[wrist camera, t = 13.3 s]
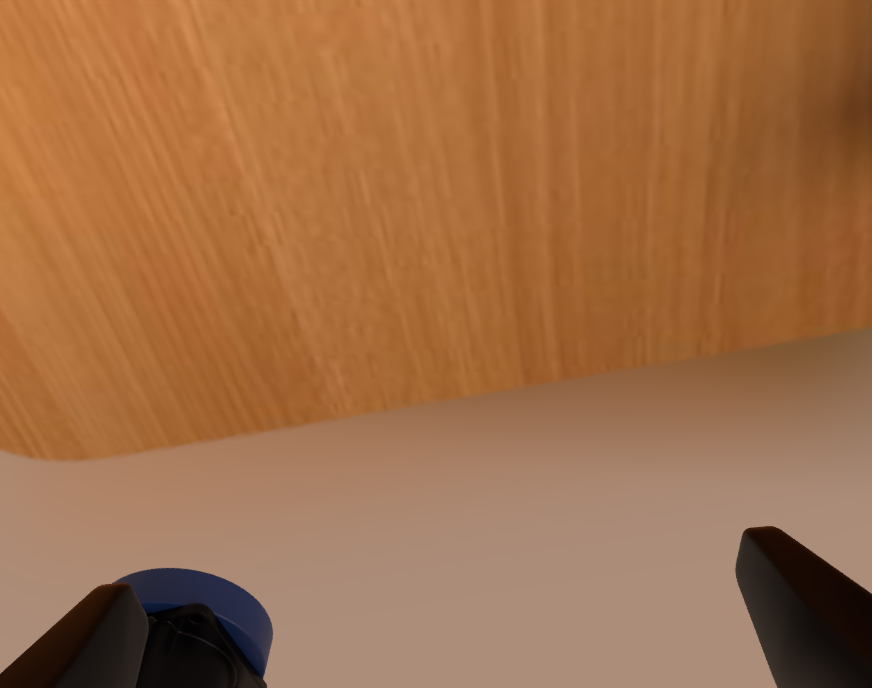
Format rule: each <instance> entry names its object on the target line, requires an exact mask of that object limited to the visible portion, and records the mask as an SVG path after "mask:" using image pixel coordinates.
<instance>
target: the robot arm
mask: <svg viewBox="0 0 872 688" xmlns="http://www.w3.org/2000/svg"><path fill="white" fill-rule="evenodd" d="M736 578H737V582H738V585H739V588H740V590H741V593H742V596H743V598H744V601H745V604H746V606H747V609H748V612H749V614H750V617H751V620H752V622H753V625H754V628H755V630H756V633H757V636H758V638H759V641H760V644H761V646H762V649H763V652H764V654H765V657H766V660H767V662H768V665H769V668H770V670H771V673H772V675H773V678H774V680H775V683H776V685H777V688H872V594H871V593H870V592H868V591H867V590H866V589H864V588H863V587H861V586H860V585H859V584H857V583H856V582H854V581H853V580H851V579H850V578H849V577H847V576H846V575H844V574H843V573H841V572H840V571H839V570H837V569H836V568H834V567H833V566H831V565H830V564H829V563H827V562H826V561H824V560H823V559H822V558H820V557H819V556H817V555H816V554H815V553H813V552H812V551H810V550H809V549H808V548H806V547H805V546H803V545H802V544H800V543H799V542H798V541H796V540H795V539H793V538H792V537H790V536H789V535H788V534H786V533H785V532H783V531H782V530H780V529H778V528H776V527H773V526H765V527H754V528H748V529H746V530H745V531H744V532H743V535H742V539H741V543H740V548H739V552H738V557H737V562H736ZM0 688H267V684H266V682H265V681H264V680H263V678H262V677H261V676H260V674H259V673H258V672H257V670H256V669H255V668H254V666H253V665H252V664H251V662H250V661H249V660H248V658H247V657H246V656H245V654H244V653H243V652H242V650H241V649H240V648H239V646H238V645H237V644H236V642H235V641H234V640H233V638H232V637H231V636H230V634H229V633H228V632H227V630H226V629H225V627H224V626H223V625H222V623H221V622H220V621H219V619H218V618H217V617H216V615H215V614H214V613H213V611H212V610H211V609H210V608H209V607H208V606H207V605H204V604H200V603H194V604H189V605H185V606H181V607H176V608H172V609H167V610H163V611H159V612H154V613H150V614H146V613H145V611H144V610H143V608H142V606H141V604H140V602H139V600H138V598H137V596H136V594H135V592H134V590H133V588H132V587H131V586H130V585H128V584H127V583H117V584H105V585H101V586H98V587H97V588H95V589H94V590H93V591H91V592H90V593H89V594H88V595H87V596H86V597H85V598H84V599H83V600H82V601H80V602H79V603H78V604H77V605H76V606H75V607H74V608H73V609H72V610H71V611H69V612H68V613H67V614H66V615H65V616H64V617H63V618H62V619H61V620H60V621H58V622H57V623H56V624H55V625H54V626H53V627H52V628H51V629H49V630H48V631H47V632H46V633H45V634H44V635H43V636H42V637H41V638H40V639H38V640H37V641H36V642H35V643H34V644H33V645H32V646H31V647H30V648H28V649H27V650H26V651H25V652H24V653H23V654H22V655H21V656H20V657H18V658H17V659H16V660H15V661H14V662H13V663H12V664H11V665H10V666H8V667H7V668H6V669H5V670H4V671H3V672H2V673H1V674H0Z"/></svg>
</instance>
